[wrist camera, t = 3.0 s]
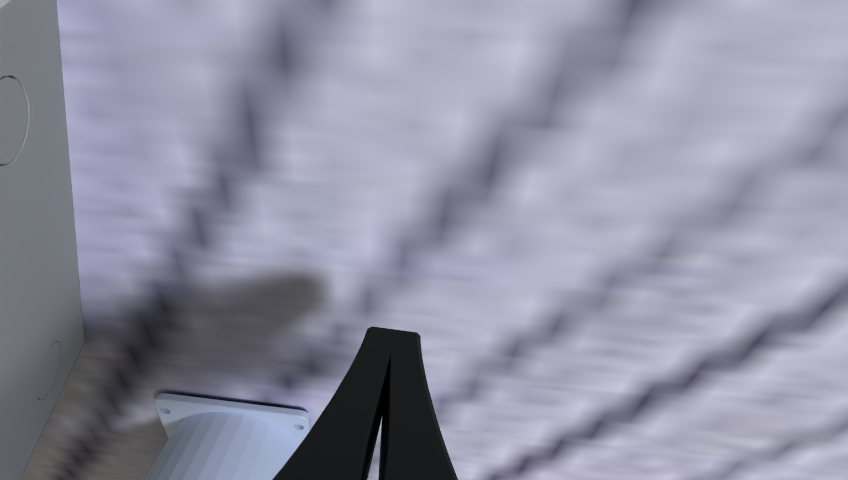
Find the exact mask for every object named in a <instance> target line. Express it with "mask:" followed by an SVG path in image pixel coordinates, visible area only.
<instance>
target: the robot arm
mask: <svg viewBox="0 0 848 480" xmlns="http://www.w3.org/2000/svg"><path fill="white" fill-rule="evenodd" d="M154 405H155V408H156V410H157V412H158V415H159V417H160V420H161V422H162V424H163V427H164V429H165V432H166V434H167V436H168V441H167V443H166V444H165V446H164V448H163V449H162V451H161V453H160V455H159V456H158V458H157V460H156V461H155V463H154V465H153V466H152V468H151V470H150V471H149V473H148V475H147V476H146V478H145V480H367V478H368V474H369V470H370V465H371V461H372V457H373V452H374V448H375V444H376V440H377V435H378V431H379V427H380V422H381V418H382V429H381V446H380V464H379V480H458V478H457V476H456V473H455V471H454V468H453V466H452V463H451V460H450V457H449V455H448V452H447V449H446V446H445V443H444V440H443V437H442V434H441V431H440V428H439V425H438V421H437V418H436V415H435V411H434V407H433V404H432V400H431V396H430V393H429V389H428V384H427V380H426V375H425V370H424V365H423V359H422V352H421V342H420V335H419V334H418V333H416V332H409V331H401V330H394V329H386V328H379V327H370V328H368V329H367V332H366V335H365V338H364V340H363V342H362V345H361V347H360V349H359V351H358V353H357V355H356V357H355V359H354V361H353V363H352V365H351V367H350V369H349V370H348V372H347V374H346V376H345V377H344V379H343V381H342V382H341V384H340V386H339V387H338V389H337V391H336V392H335V394H334V396H333V397H332V399H331V400H330V402H329V403H328V405H327V406H326V408H325V409H324V411H323V412H322V414H321V415H320V417H319V418H318V420H317V421H316V423H315V424H314V426H313V427H312V429H311V427H310V415H309V414H308V413H307V412H306V411H303V410H297V409H289V408H281V407H273V406H265V405H256V404H248V403H240V402H232V401H224V400H216V399H208V398H200V397H192V396H184V395H175V394H167V393H161V394H158V396H157V397H156V398H155V400H154Z"/></svg>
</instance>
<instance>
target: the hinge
mask: <svg viewBox="0 0 848 480" xmlns="http://www.w3.org/2000/svg"><path fill="white" fill-rule="evenodd" d="M83 345H84V331H83V319H82V307H81V295H80V282H79V270H78V258H77V246H76V233H75V221H74V209H73V197H72V185H71V172H70V160H69V148H68V136H67V123H66V111H65V99H64V87H63V75H62V62H61V50H60V38H59V26H58V13H57V1H56V0H0V480H18V479H19V477H20V476H21V474H22V473H23V471H24V469H25V467H26V465H27V463H28V461H29V459H30V457H31V455H32V453H33V451H34V448H35V446H36V444H37V442H38V440H39V438H40V436H41V434H42V431H43V429H44V427H45V425H46V423H47V421H48V419H49V417H50V415H51V412H52V410H53V408H54V406H55V404H56V402H57V400H58V398H59V395H60V393H61V391H62V389H63V387H64V385H65V383H66V381H67V379H68V376H69V374H70V372H71V370H72V368H73V366H74V364H75V362H76V359H77V357H78V355H79V353H80V351H81V349H82V347H83Z"/></svg>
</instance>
